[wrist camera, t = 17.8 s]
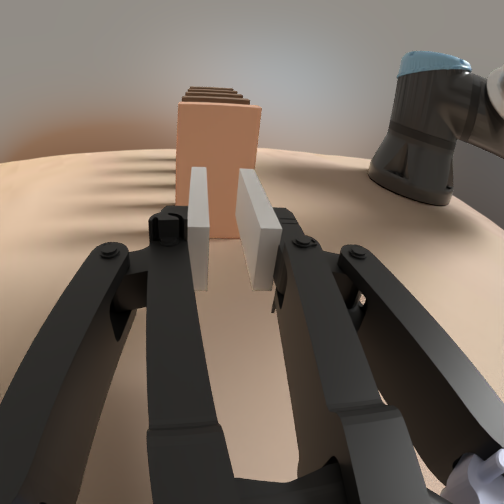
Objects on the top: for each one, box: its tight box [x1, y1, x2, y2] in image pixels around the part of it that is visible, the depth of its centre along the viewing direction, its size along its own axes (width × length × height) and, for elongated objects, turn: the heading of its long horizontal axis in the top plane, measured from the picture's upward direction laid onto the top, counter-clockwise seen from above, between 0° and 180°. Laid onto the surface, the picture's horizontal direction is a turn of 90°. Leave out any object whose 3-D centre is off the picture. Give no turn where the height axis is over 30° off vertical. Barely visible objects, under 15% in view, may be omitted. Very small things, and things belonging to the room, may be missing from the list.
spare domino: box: [176, 102, 262, 239], centre depth 25 cm, size 2×6×11 cm, turn 98°
